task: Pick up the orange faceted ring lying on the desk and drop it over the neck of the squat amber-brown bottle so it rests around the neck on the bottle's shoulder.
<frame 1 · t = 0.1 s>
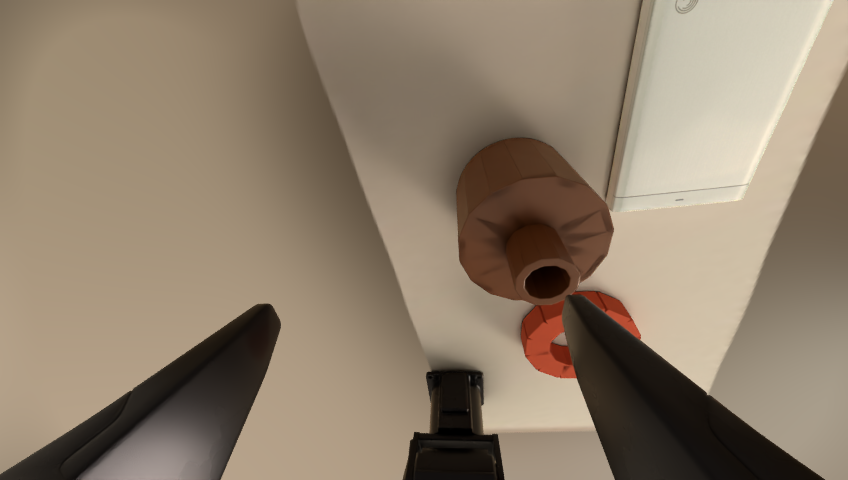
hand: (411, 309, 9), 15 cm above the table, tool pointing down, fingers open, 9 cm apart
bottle: (511, 193, 23), on the table
orange faceted ring: (572, 328, 30), on the table
hard drive: (689, 105, 19), on the table
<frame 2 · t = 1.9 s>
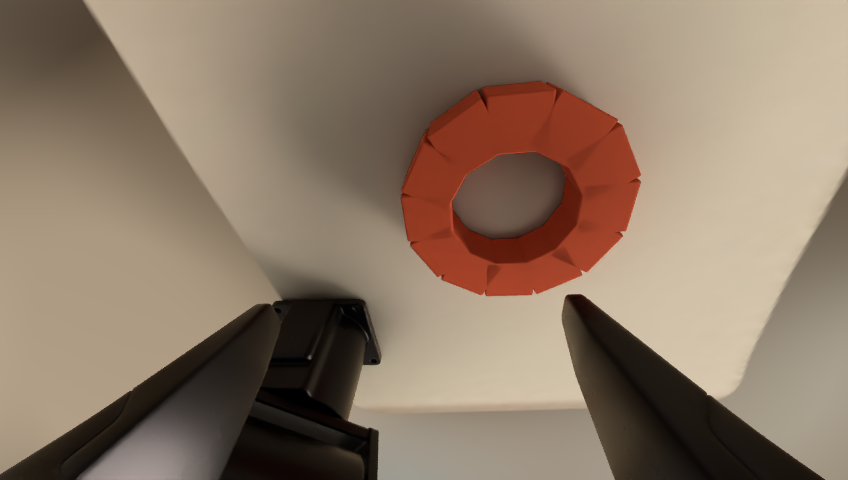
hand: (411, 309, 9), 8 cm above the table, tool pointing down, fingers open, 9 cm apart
orange faceted ring: (506, 193, 15), on the table
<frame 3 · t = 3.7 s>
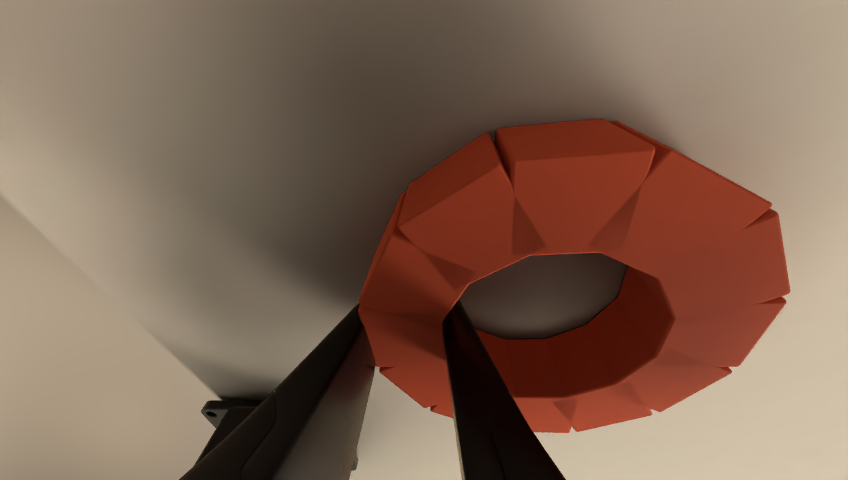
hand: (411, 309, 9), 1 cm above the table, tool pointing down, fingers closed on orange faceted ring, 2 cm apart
orange faceted ring: (531, 282, 10), on the table, touching gripper
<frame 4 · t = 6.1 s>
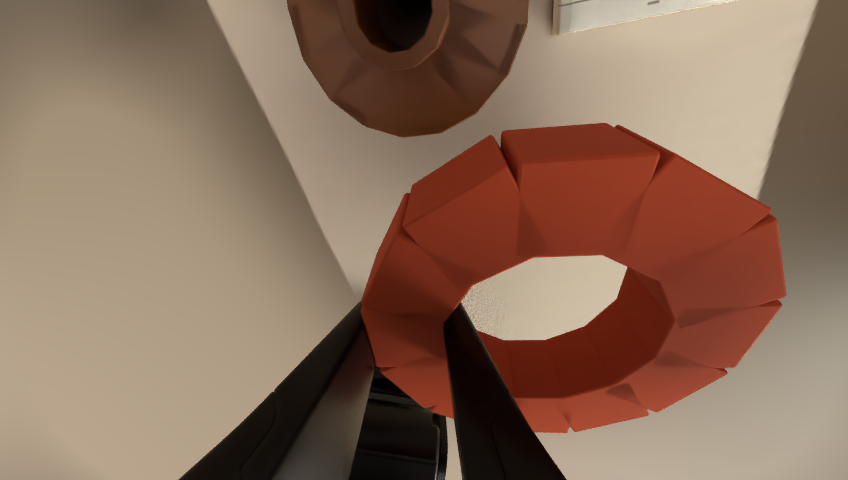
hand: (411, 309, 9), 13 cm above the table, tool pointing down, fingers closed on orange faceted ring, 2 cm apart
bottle: (421, 24, 16), on the table
orange faceted ring: (531, 284, 10), point 12 cm above the table, touching gripper
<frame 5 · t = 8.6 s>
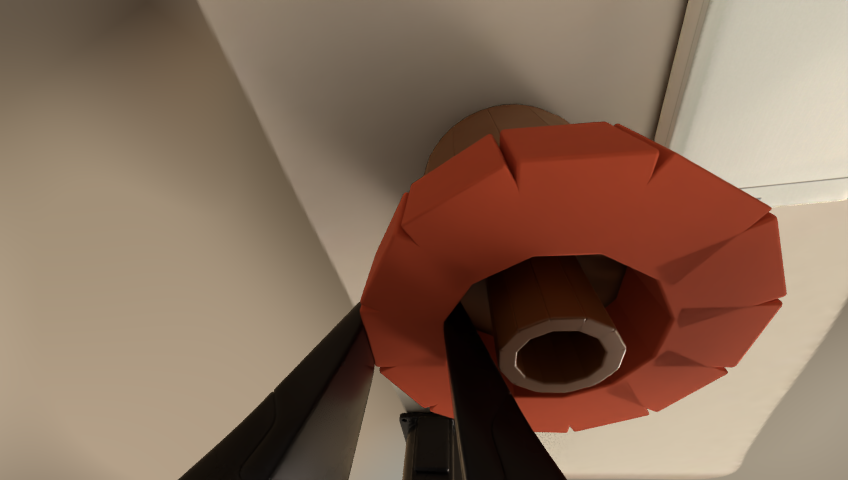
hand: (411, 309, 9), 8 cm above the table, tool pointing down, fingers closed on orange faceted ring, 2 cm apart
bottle: (501, 189, 16), on the table
orange faceted ring: (531, 283, 10), point 7 cm above the table, touching gripper
hard drive: (780, 48, 12), on the table
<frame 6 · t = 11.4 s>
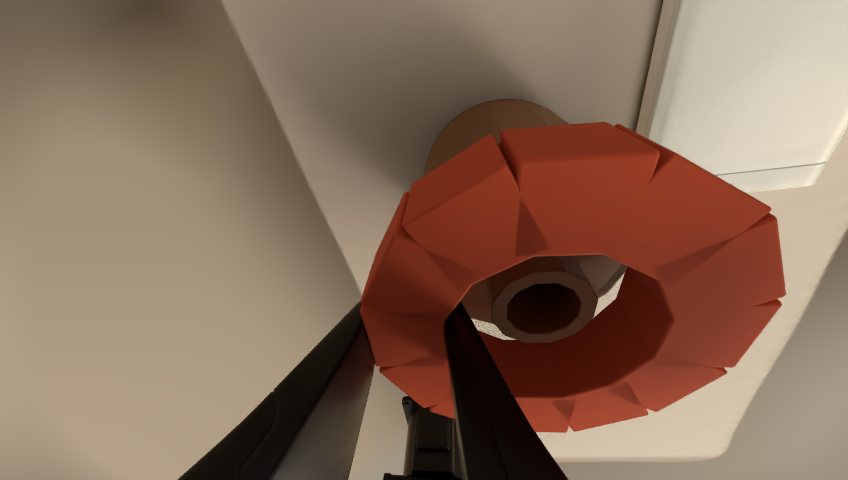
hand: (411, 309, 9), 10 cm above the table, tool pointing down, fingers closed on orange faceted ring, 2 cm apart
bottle: (497, 177, 17), on the table
orange faceted ring: (531, 283, 10), point 9 cm above the table, touching gripper
hard drive: (746, 48, 13), on the table
when the fingers open (11 cm above the table, at t = 14.1 s): orange faceted ring drops 3 cm, resting on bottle.
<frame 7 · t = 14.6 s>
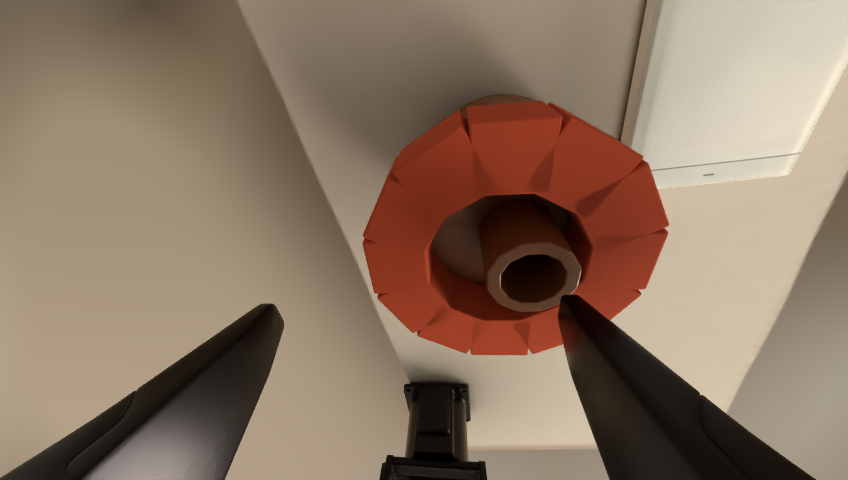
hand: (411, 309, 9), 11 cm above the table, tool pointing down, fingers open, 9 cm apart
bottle: (495, 169, 18), on the table
orange faceted ring: (497, 233, 12), point 7 cm above the table, touching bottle
hard drive: (724, 47, 14), on the table
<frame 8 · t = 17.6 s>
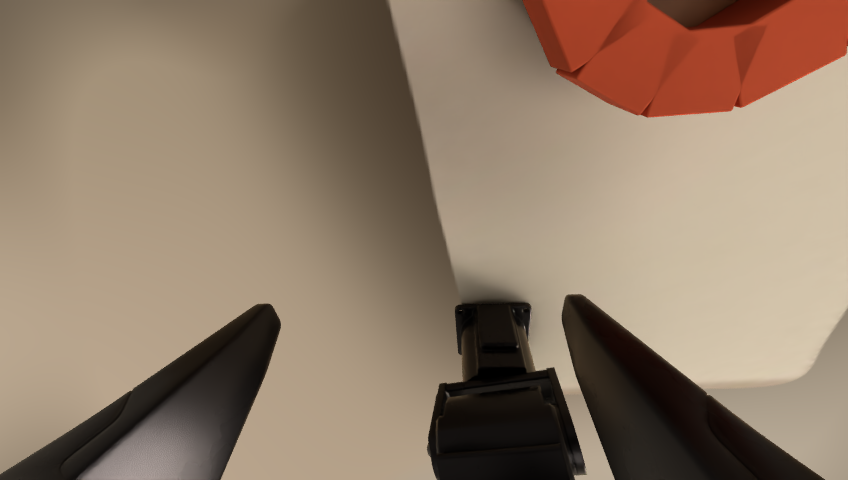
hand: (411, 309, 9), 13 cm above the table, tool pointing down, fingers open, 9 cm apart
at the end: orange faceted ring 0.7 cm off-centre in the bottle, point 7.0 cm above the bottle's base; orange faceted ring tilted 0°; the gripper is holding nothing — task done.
